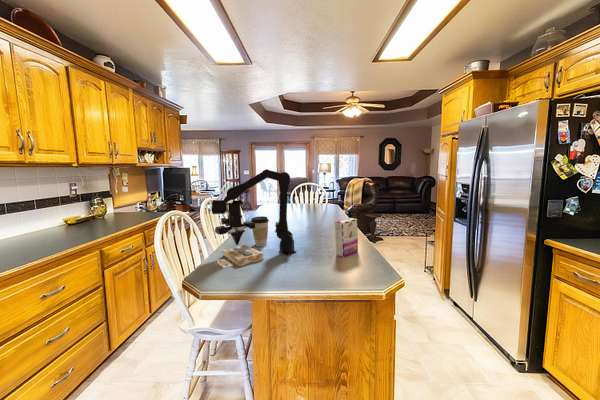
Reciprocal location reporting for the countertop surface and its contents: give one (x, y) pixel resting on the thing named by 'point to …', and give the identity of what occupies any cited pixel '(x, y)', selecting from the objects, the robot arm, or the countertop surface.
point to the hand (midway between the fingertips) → (236, 244)
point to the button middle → (242, 250)
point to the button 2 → (247, 253)
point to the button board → (241, 258)
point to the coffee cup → (260, 230)
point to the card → (224, 263)
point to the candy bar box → (346, 237)
